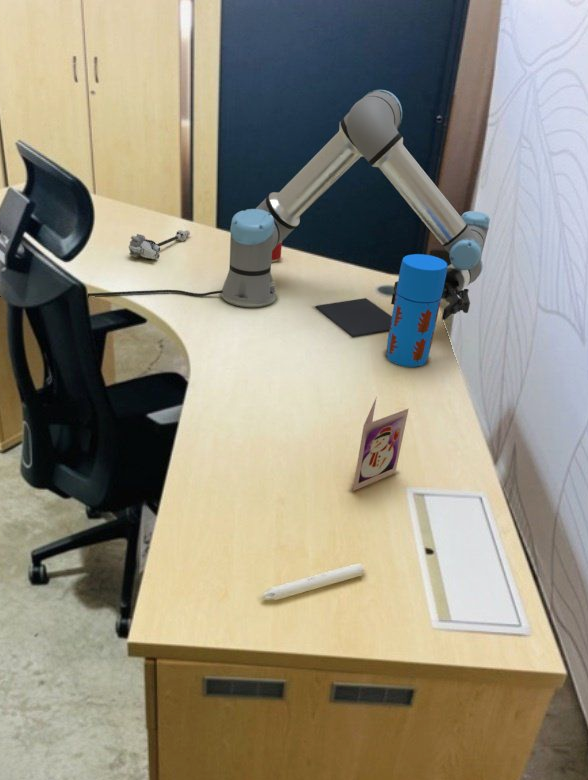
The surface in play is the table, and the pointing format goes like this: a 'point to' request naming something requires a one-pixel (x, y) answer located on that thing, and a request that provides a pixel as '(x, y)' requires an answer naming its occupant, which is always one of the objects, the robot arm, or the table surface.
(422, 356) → the thermos
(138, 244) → the hammer
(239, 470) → the table surface
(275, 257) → the beverage can
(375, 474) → the greeting card
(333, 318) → the desk mat
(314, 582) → the marker
